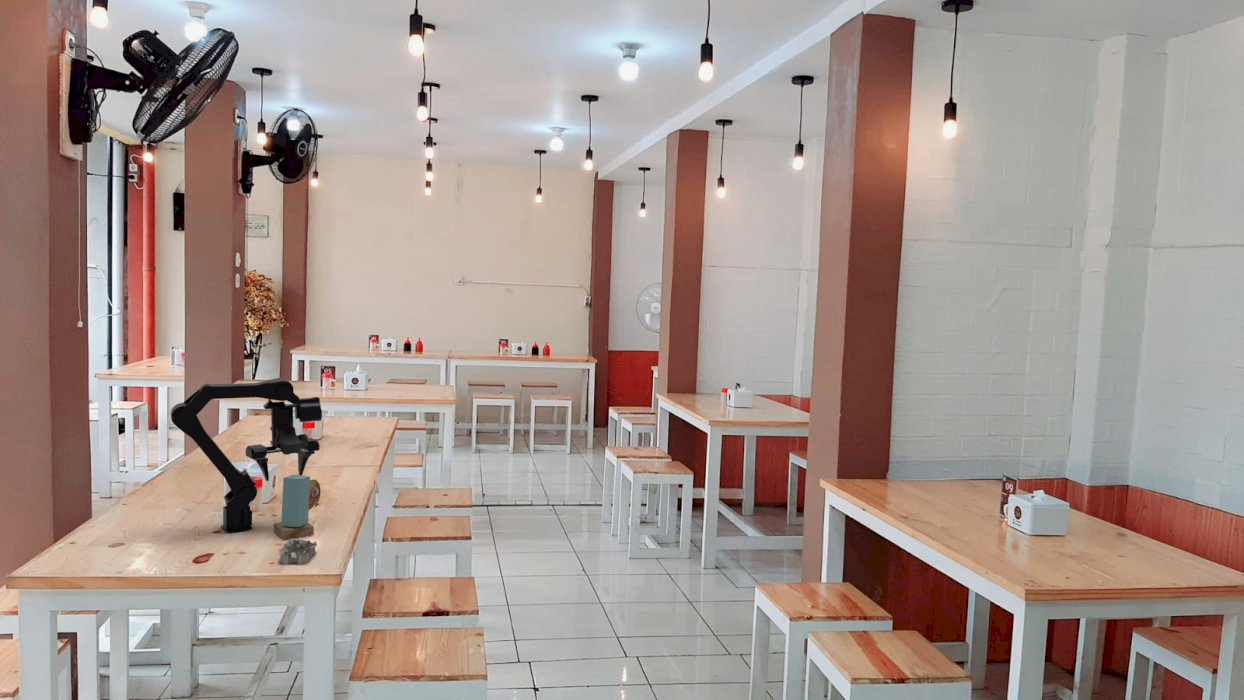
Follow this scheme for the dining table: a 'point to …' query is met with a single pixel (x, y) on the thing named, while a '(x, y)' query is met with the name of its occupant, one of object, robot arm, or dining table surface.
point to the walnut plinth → (293, 531)
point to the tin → (314, 493)
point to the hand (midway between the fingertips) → (284, 478)
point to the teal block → (295, 500)
